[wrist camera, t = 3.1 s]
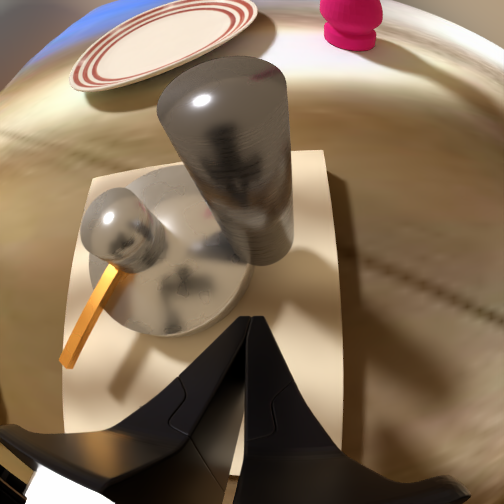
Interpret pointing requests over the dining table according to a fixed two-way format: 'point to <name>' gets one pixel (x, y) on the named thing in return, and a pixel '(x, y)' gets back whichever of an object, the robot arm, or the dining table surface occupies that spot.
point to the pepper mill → (351, 23)
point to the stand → (251, 304)
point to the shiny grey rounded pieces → (195, 207)
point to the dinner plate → (159, 42)
